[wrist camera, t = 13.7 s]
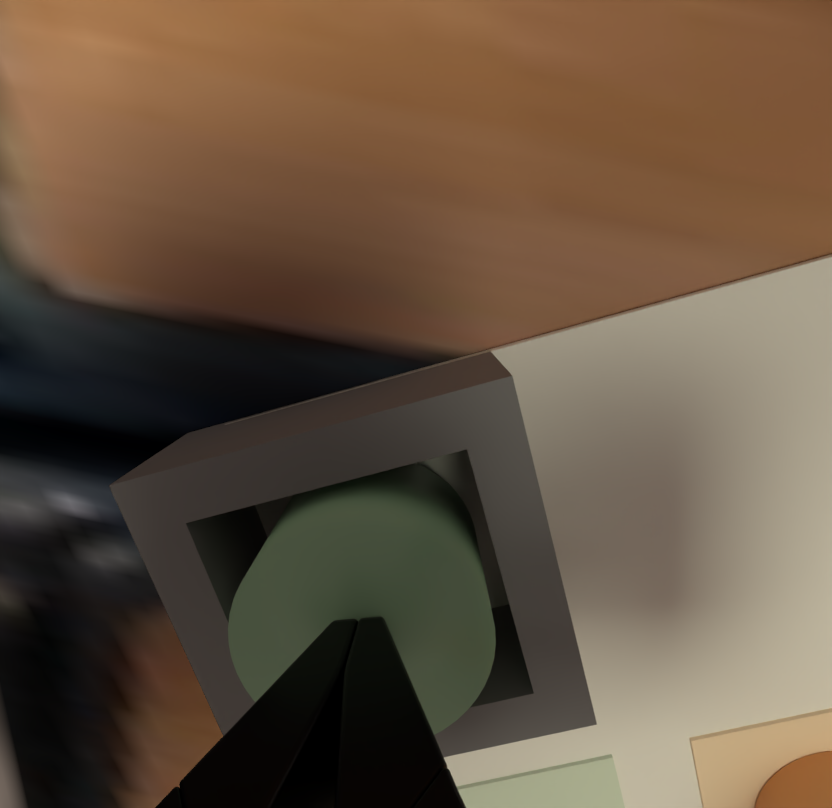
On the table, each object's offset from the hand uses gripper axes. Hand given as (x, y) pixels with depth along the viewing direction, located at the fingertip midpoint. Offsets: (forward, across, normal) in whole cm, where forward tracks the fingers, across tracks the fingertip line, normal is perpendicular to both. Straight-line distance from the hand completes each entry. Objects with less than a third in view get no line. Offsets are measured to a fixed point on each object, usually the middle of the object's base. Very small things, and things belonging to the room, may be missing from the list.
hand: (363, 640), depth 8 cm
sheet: (+4, -5, +4) cm, 8 cm away
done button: (+3, 0, 0) cm, 3 cm away
